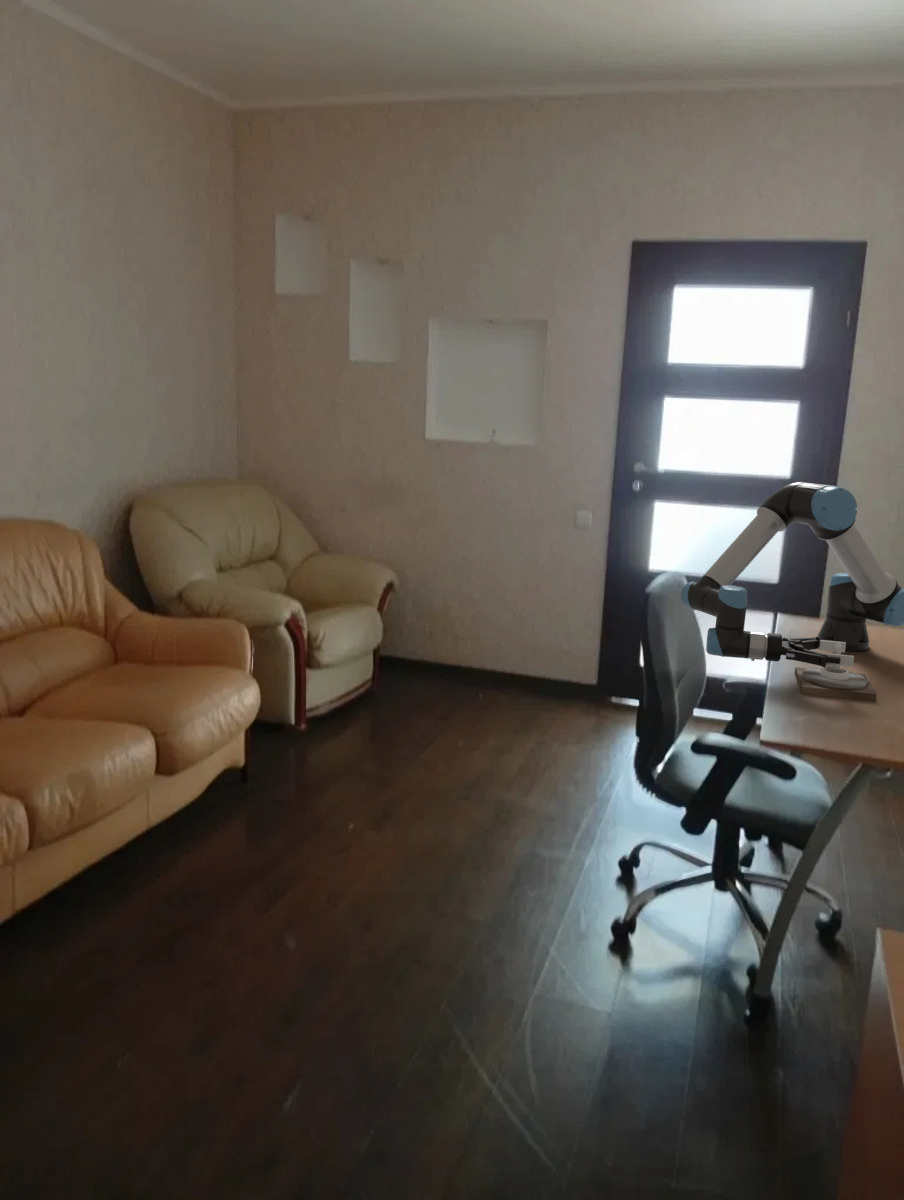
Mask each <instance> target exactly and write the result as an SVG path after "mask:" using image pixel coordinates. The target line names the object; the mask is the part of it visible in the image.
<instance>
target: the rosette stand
mask: <svg viewBox="0 0 904 1200" xmlns="http://www.w3.org/2000/svg"><path fill="white" fill-rule="evenodd" d="M822 668H823V667H822V666H818V667H809V668H807V667H800V666H795V667H794V677H795V680H796V682H797V685H798V687H799V690H800V694H801V693H802V694H801V695H808V694H812V695H811V696H818V695H821V697H828V696H831V697H830V698H838V699H848V700H849V699H850V700H859V701H869V702H876V701H877V694H878V693H877V692H876V691H875V689H874V687H873V686H872V684H871V683H870V680H869V679H868V677H867V676H866V674H865V673H861V672H860V673H859V672H853V671H851V670H847V671H848V672H849V675H850V678H849V679H846V680H835V679H829V678H826V677H823V676H821V675H820V674H819V672H820V671H821V669H822ZM834 673H838V672H834Z"/></svg>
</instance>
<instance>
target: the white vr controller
mask: <svg viewBox="0 0 904 1200" xmlns="http://www.w3.org/2000/svg"><path fill="white" fill-rule="evenodd" d="M841 648H842V644H841V643H833V645H832V651H831V654H839V655H842V652H841ZM848 671H849V670H847V669H846V668H843V667H841V665H831V664H826V667H823V668H822V669H821V671H820V672H819V674H820V675H821V676H823V677H826V678H829V679H835V680H846V679H849V678H850V675H849V672H848ZM834 672H838V673H834Z"/></svg>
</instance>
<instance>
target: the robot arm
mask: <svg viewBox="0 0 904 1200" xmlns="http://www.w3.org/2000/svg"><path fill="white" fill-rule="evenodd" d="M856 508H858V504H857V500H856V497H855V496H854V494H852V492H850V490H849V489H846V488H844V487H839V486H837V485H832V484H831V485H830V484H829V485H828V484H821V483H820V484H819V483H813V482H812V483H811V482H806V481H796V482H792V483H790V484H787V485H785V486H782V488H780V489H778V490H777V491H775V492H774V493H773V494H772V495H771V496H769V497H768V498H767V499H765V501H764V502H762V504H761V505H760V506H759V507H758V508H757V510H756V516H755V517H754V518H753V519H752V520H751V521H750V523H749V524H748V525H747V526H746V527H745V528H744V529H743V530H742V531H741V533H740V534H739V535H738V536H737V537H736V538H735V539H734V541H733V542H732V543H730V545H729V546H728V547H727V549H725V551H723V553H722V554H721V555H720V556H719V558H717V559H716V561H715V562H714V563H713V565H711V566H710V567H709V568H708V570H707V571H705V573H704V574H703V575H702V577H700V579H698V581H689V582H687V583H685V584H684V585H683V587H682V588H681V590H680V600H681V602H682V604H683V605H685V607H688V608H690V609H692V610H694V611H699V612H701V613H704V614H707V615H708V616H709V615H710V616H712V617H715V627H709V628H708V629H707V635H706V642H705V643H706V648H705V651H706V653H707V654H708V655H710V656H717V657H718V656H719V657H722V658H724V657H725V658H737V659H738V658H740V659H750V660H751V662H754V661H755V660H759V661H760V660H761V661H762V660H764V659H765V661H767V662H769V661H770V662H779V661H780V660H781V658H782V657H781V656H785V660H787V661H796V662H801V663H805V664H811V665H813V666H818V667H826V664H831V665H841V666H843V667H854V662H855V655H848V654H841V655H839V654H832V653H826V654H825V653H822V652H818V651H815V650H819V651H823V652H825V651H826V652H832V645H833V643H841V644H842V648H841V653H845V652H846V651H847V652H848V651H850V652H860V651H861V652H862V651H866V649H867V650H868V649H869V648H870V638H869V633H868V628H867V620H869V621H873V622H877V623H880V624H884V625H885V626H892V627H899V626H902V625H904V587H902V586H901V585H900V584H899V583H898V581H897V579H896V578H895V577H894V575H892V574H890V573H888V572H885V571H884V569H883V567H882V566H881V564H880V563H879V561H878V560H877V558H876V557H875V555H874V554H873V552H872V550H871V548H870V547H869V546H868V544H867V542H866V541H865V539H864V537H863V536H862V534H861V533H860V531H859V530H858V528H857V526H856V524H855V523H856V519H857V514H858V510H857V509H856ZM795 523H797V524H802V525H806V526H808V527H810V530H811V531H812V532H813V534H814V535H815V536H816V537H817V539H819V540H821V541H826V543H827V545H828V546H829V548H830V549H831V550H832V552H833V553H834V555H835V556H836V558H837V561H839V563H840V564H841V566H842V567H843V569H844V570H845V571H846V572H838V573H834V574H833V575H832V576H831V577H830V582H829V585H828V594H827V595H828V596H827V606H826V615H825V619H824V621H823V624H822V625H821V628H820V630H819V631H818V634H817V636H815V637H813V636H811V637H783V636H782V635H783V634H781V633H773V632H768V633H767V634H766V633H765V632H763V631H762V632H761V631H750V630H748V631H747V630H745V624H746V623H745V622H746V615H747V614H746V613H747V607H748V590H747V589H746V588H745V587H742V586H738V585H732V584H733V583H734V582H735V581H736V580H737V578H738V577H739V576H741V574H742V573H744V570H746V569H747V567H748V566H749V565H750V564H751V563H752V562H753V561H754V559H756V558H757V556H758V555H759V554H760V553H761V552H762V550H763V549H764V548H765V547H766V546H767V545H768V544H769V542H770V541H771V540H772V539H773V538H774V537H775V536H776V535H777V534H778V533H779V532H780V533H781V532H784V531H785V530H786V529H787V528H788V526H790V525H792V524H795ZM841 666H840V667H841Z"/></svg>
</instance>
